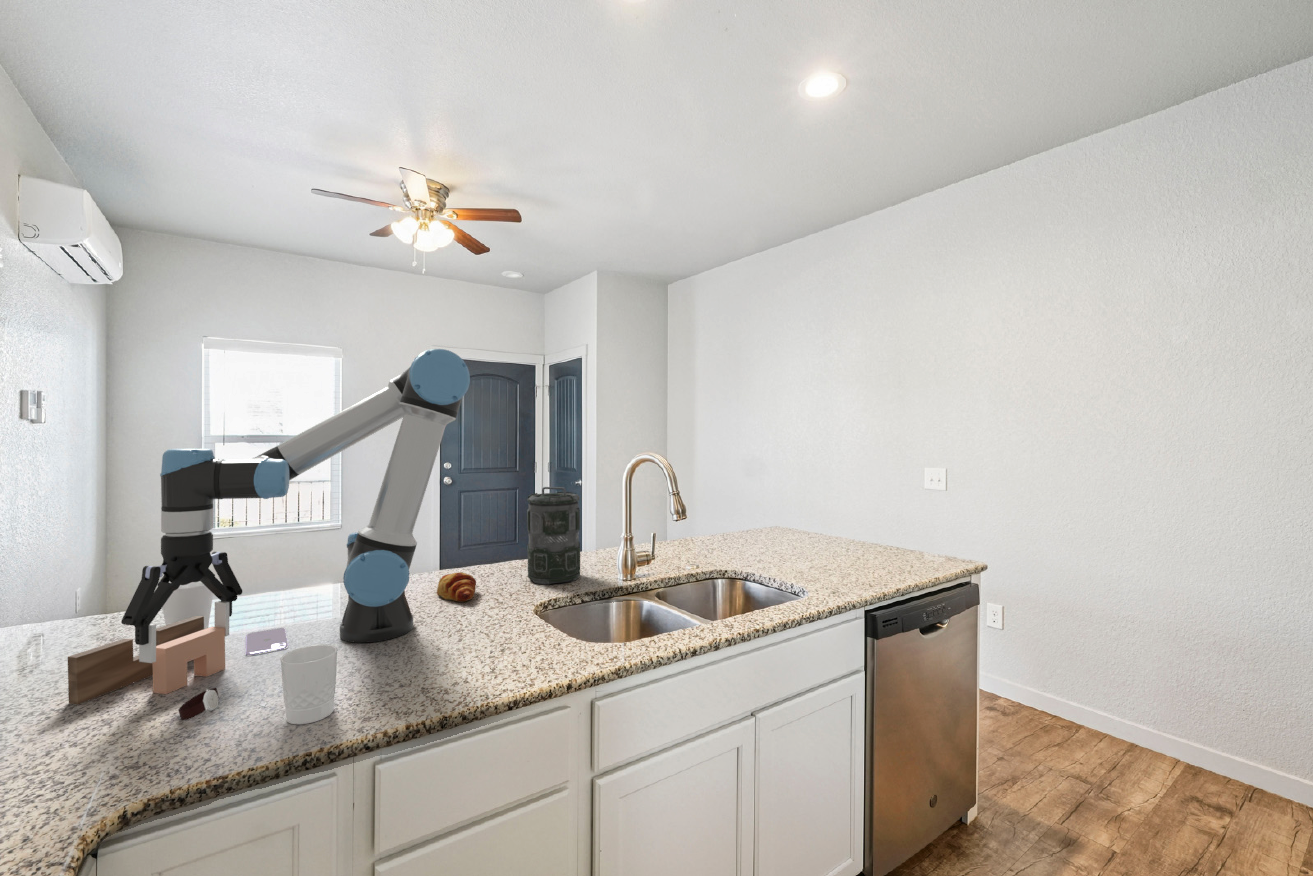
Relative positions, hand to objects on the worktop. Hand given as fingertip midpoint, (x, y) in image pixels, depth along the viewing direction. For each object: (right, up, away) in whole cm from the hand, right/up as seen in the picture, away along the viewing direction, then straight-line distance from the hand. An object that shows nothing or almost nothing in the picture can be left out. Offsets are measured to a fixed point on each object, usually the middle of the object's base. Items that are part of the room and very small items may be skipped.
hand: (187, 647), depth 109 cm
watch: (+11, -7, -11) cm, 17 cm away
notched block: (0, -6, 0) cm, 6 cm away
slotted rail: (-10, -6, +2) cm, 11 cm away
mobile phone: (+2, -6, +20) cm, 21 cm away
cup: (-17, -6, +22) cm, 28 cm away
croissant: (+31, -5, +55) cm, 63 cm away
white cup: (+30, -7, -13) cm, 34 cm away
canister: (+55, -5, +72) cm, 91 cm away
